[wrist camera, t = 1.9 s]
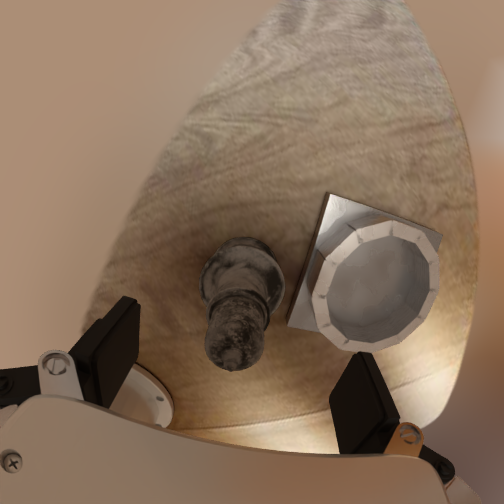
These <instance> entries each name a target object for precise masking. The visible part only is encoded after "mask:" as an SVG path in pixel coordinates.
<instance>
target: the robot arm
mask: <svg viewBox="0 0 504 504" xmlns="http://www.w3.org/2000/svg"><path fill="white" fill-rule="evenodd" d="M140 308H141V306H140V304H138V303H137V300H136V299H133V298H130V297H127V296H123V297H122V298H121V299H120V300H119V301H118V302H117V303H116V304H115V306H114V307H113V308H112V309H111V310H110V311H109V312H108V313H107V314H106V316H105V317H104V318H103V319H98V320H96V321H95V323H94V324H93V325H92V326H91V327H90V328H89V329H88V330H87V331H86V333H85V334H84V335H83V336H82V337H81V338H80V339H79V340H78V342H77V343H76V344H75V345H74V346H73V347H72V349H71V350H70V351H69V352H68V353H66V352H64V351H60V350H51V351H48V352H45V353H44V354H43V355H41V356H40V359H39V361H38V365H35V366H28V367H20V368H10V369H0V504H481V500H480V498H479V496H478V495H477V494H476V493H475V492H474V491H473V490H472V489H471V488H470V487H468V485H467V484H466V483H465V482H464V481H463V480H462V479H461V478H460V477H459V476H457V477H456V478H455V477H454V475H455V469H454V466H453V464H452V463H451V462H450V461H449V460H448V459H446V458H444V457H443V456H441V455H439V454H437V453H436V452H434V451H433V450H431V449H430V448H428V447H426V446H425V445H423V442H424V435H423V433H422V431H421V430H420V428H419V427H418V426H416V425H415V424H412V423H409V422H403V423H401V424H400V422H399V419H400V415H399V413H398V411H397V408H396V406H395V404H394V401H393V399H392V397H391V394H390V392H389V390H388V388H387V385H386V383H385V381H384V379H383V377H382V374H381V372H380V370H379V368H378V366H377V364H376V361H375V359H374V357H373V355H372V354H371V353H369V352H362V351H359V352H358V353H357V354H354V355H353V356H352V358H351V360H350V362H349V363H348V365H347V367H346V369H345V370H344V372H343V374H342V376H341V377H340V379H339V381H338V382H337V384H336V386H335V387H334V389H333V391H332V392H331V394H330V396H329V404H330V408H331V413H332V418H333V422H334V427H335V432H336V437H337V442H338V447H339V452H340V454H314V453H298V452H286V451H276V450H267V449H260V448H252V447H246V446H240V445H234V444H229V443H223V442H218V441H214V440H209V439H204V438H200V437H196V436H192V435H188V434H184V433H180V432H177V431H173V430H169V429H166V428H165V427H167V426H168V425H169V424H170V422H171V420H172V417H173V413H174V406H173V401H172V399H171V397H170V395H169V393H168V392H167V390H166V389H165V387H164V386H163V385H162V384H161V383H160V382H159V381H158V380H157V379H156V378H155V377H154V376H153V375H151V374H150V373H149V372H148V371H146V370H145V369H143V368H142V367H140V366H139V365H137V364H135V361H136V360H137V357H138V353H139V327H140Z"/></svg>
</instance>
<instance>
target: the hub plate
mask: <svg viewBox="0 0 504 504" xmlns="http://www.w3.org/2000/svg"><path fill="white" fill-rule="evenodd" d="M442 236H443V235H442V234H440V233H438V232H436V231H433V230H431V229H428V228H426V227H423V226H421V225H418V224H416V223H413V222H411V221H408V220H405V219H403V218H400V217H397V216H395V215H392V214H389V213H386V212H384V211H381V210H378V209H375V208H372V207H369V206H367V205H364V204H361V203H358V202H355V201H352V200H349V199H346V198H342V197H339V196H336V195H333V194H330V193H327V192H326V196H325V199H324V203H323V206H322V210H321V213H320V216H319V220H318V223H317V226H316V230H315V233H314V236H313V239H312V242H311V246H310V249H309V252H308V255H307V258H306V261H305V264H304V267H303V270H302V273H301V276H300V279H299V282H298V285H297V288H296V291H295V294H294V297H293V300H292V303H291V306H290V308H289V311H288V314H287V317H286V323H287V326H289V327H294V328H299V329H304V330H309V331H314V332H320V333H322V334H323V335H324V336H326V337H327V338H328V339H329V340H330V341H331V342H332V343H333V344H335V345H336V346H337V347H338V348H339V349H341V350H347V351H355V352H359V351H362V352H369V353H373V352H376V351H379V350H382V349H385V348H388V347H390V346H393V345H396V344H399V343H400V342H402V341H403V340H404V339H405V338H406V337H407V336H409V335H410V334H411V333H412V332H413V331H414V330H415V329H416V328H417V327H418V326H419V325H420V324H422V323H423V322H424V319H426V317H427V315H428V313H429V311H430V309H431V307H432V305H433V302H434V300H435V298H436V296H437V294H438V291H439V290H438V289H439V258H438V255H437V251H438V248H439V245H440V242H441V239H442Z"/></svg>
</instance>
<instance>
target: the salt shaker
mask: <svg viewBox="0 0 504 504" xmlns="http://www.w3.org/2000/svg"><path fill="white" fill-rule="evenodd" d="M199 290H200V294H201V298H202V300H203V302H204V303H205V305H206V307H207V309H206V319H207V323H208V325H209V326H208V330H207V333H206V337H205V351H206V354H207V356H208V357H209V359H210V360H211V361H212V362H213V363H214V364H215V365H217V366H218V367H220V368H222V369H225V370H228V371H230V372H232V371H239V370H243V369H246V368H249V367H251V366H252V365H254V364H255V363H256V362H257V361H258V360H259V359H260V357H261V355H262V353H263V349H264V331H265V330H266V329H267V326H268V324H269V322H270V315H272V314H273V313H274V312H275V311H276V310H277V308H278V307H279V306H280V304H281V302H282V300H283V297H284V292H285V281H284V275H283V273H282V271H281V269H280V266H279V265H278V264H277V260H276V258H275V256H274V254H273V252H272V251H271V250H270V248H269V247H268V246H267V245H265V244H264V243H262V242H261V241H259V240H256V239H254V238H249V237H239V238H233V239H231V240H229V241H227V242H225V243H224V244H223V245H221V246H220V247H219V248H218V250H217V251H216V252H215V254H214V255H213V256H212V257H211V258H210V259H209V260H208V261H207V262H206V264H205V265H204V267H203V268H202V271H201V275H200V278H199Z"/></svg>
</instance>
